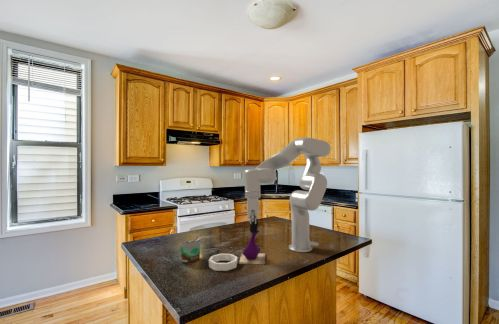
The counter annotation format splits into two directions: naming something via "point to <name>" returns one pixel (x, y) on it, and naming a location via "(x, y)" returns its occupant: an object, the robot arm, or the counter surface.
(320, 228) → the counter surface
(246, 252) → the perfume bottle
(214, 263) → the holder ring
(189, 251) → the food container
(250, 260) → the coaster board
